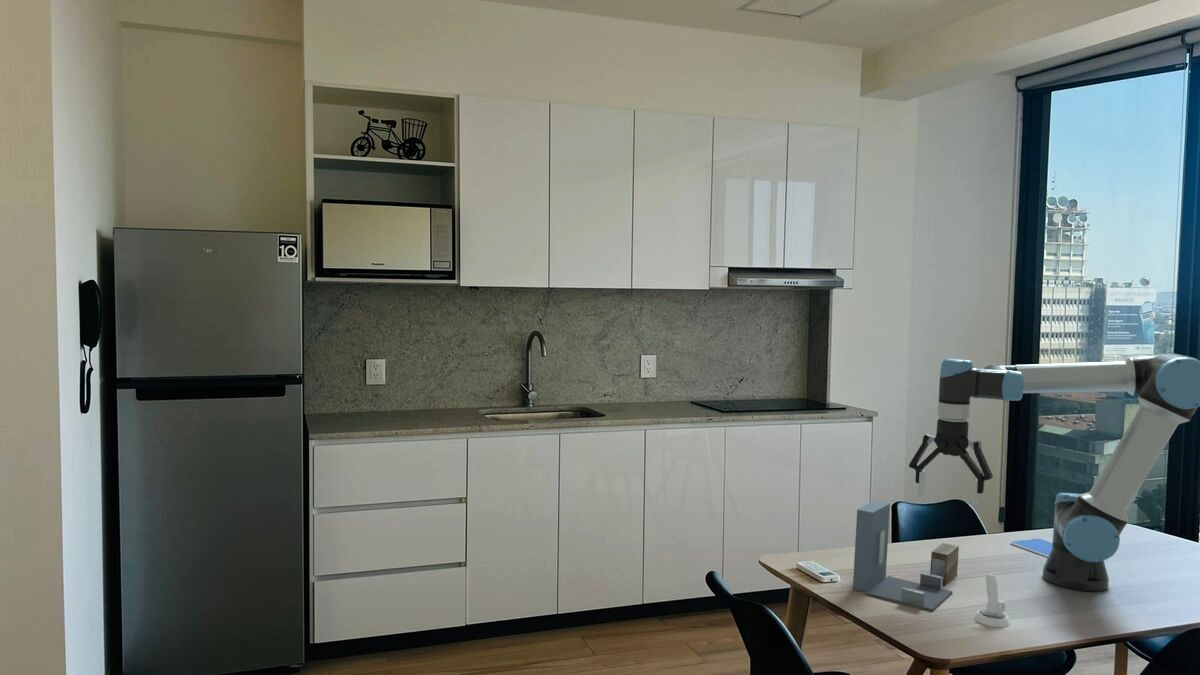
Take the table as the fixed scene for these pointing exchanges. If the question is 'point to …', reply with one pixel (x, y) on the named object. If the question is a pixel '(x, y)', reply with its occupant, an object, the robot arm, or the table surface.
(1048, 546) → the tablet computer
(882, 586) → the slotted tower stand
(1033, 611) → the table surface
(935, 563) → the labeled wooden box
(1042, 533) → the table surface
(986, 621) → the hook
